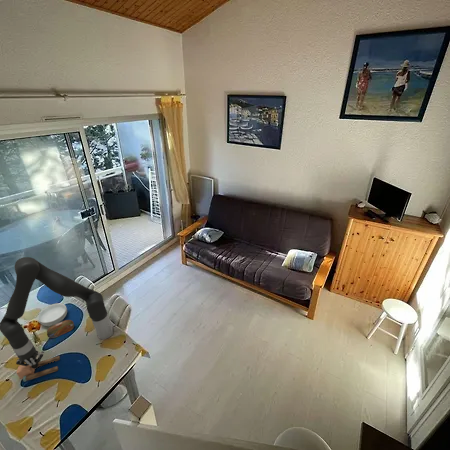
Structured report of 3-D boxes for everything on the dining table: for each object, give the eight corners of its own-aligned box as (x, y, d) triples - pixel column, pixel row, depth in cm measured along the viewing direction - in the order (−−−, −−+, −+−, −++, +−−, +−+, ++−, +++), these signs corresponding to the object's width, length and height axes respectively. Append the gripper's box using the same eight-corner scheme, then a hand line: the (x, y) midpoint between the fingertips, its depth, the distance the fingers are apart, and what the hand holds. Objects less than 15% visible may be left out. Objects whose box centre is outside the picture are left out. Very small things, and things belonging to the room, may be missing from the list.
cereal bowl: (74, 316, 172) (71, 309, 169) (48, 334, 160) (45, 326, 157) (61, 306, 180) (58, 299, 177) (36, 321, 168) (32, 314, 164)
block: (35, 368, 141) (31, 362, 138) (33, 374, 137) (29, 368, 134) (22, 372, 138) (18, 366, 136) (20, 379, 135) (16, 373, 132)
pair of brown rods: (60, 357, 147) (58, 355, 145) (57, 370, 140) (56, 368, 139) (28, 367, 141) (26, 365, 140) (24, 381, 134) (22, 379, 133)
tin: (49, 340, 156) (45, 331, 152) (49, 336, 158) (44, 328, 154) (75, 328, 164) (72, 320, 160) (75, 325, 166) (71, 317, 162)
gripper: (40, 338, 134) (51, 356, 143) (11, 346, 130) (23, 365, 139) (37, 350, 128) (48, 368, 137) (6, 359, 124) (20, 377, 133)
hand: (36, 366), depth 138 cm, fingers closed
